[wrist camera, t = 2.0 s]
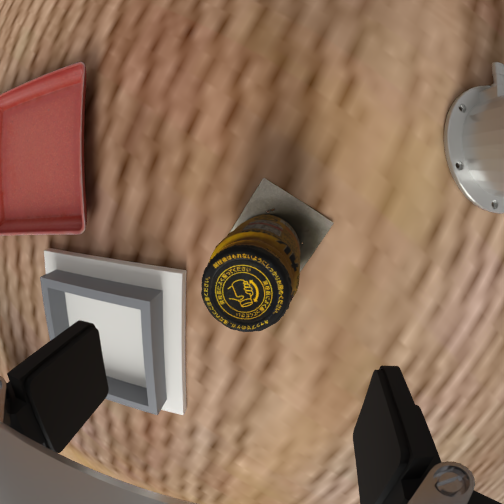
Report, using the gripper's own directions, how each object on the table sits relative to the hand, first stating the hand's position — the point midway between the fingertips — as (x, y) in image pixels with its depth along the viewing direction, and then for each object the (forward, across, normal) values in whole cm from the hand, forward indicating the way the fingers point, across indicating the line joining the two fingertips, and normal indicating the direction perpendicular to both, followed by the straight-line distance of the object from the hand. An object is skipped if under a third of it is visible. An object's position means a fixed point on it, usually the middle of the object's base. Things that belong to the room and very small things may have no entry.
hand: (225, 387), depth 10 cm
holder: (+20, +18, +12) cm, 30 cm away
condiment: (+21, 0, -1) cm, 21 cm away
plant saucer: (+21, +28, -8) cm, 36 cm away
